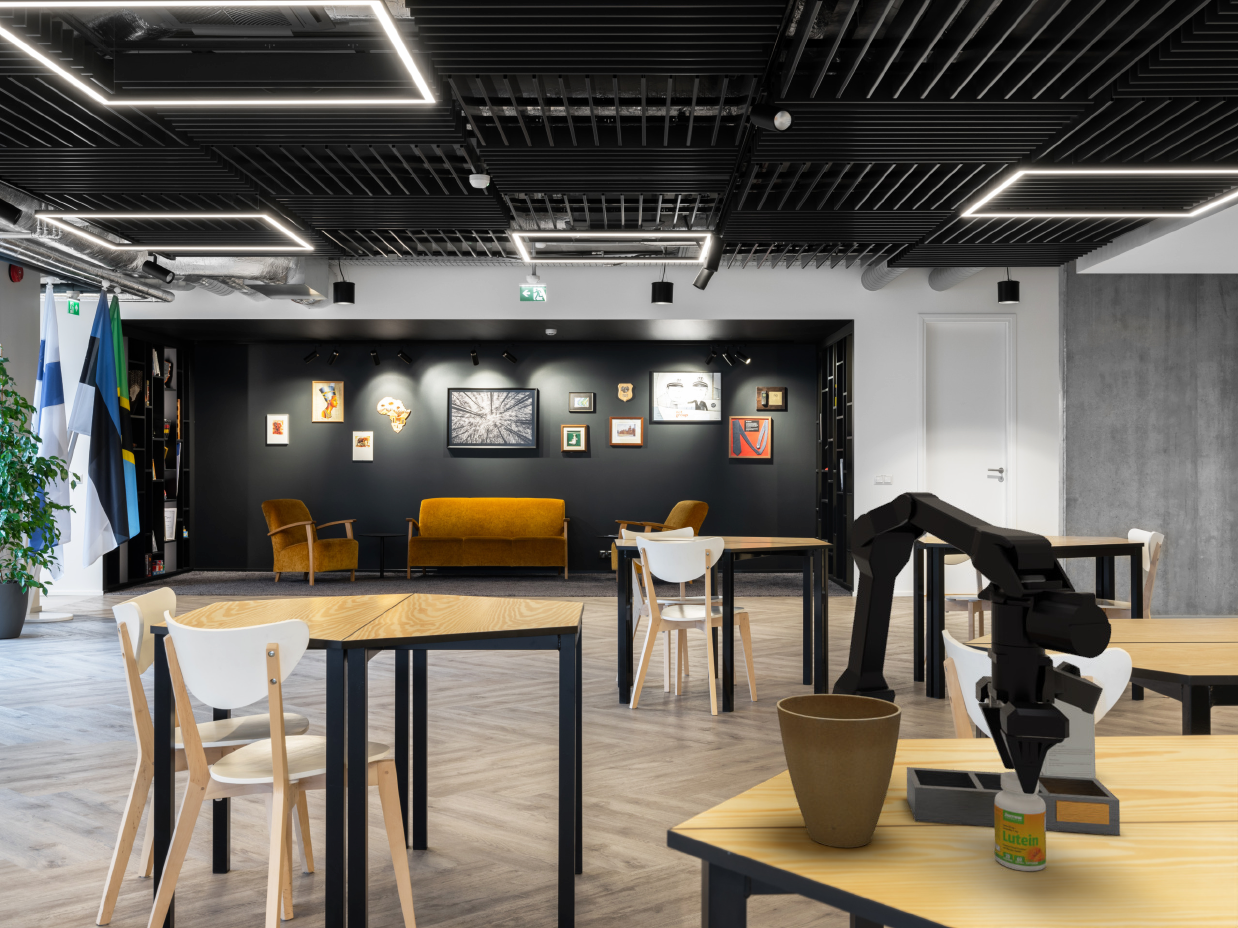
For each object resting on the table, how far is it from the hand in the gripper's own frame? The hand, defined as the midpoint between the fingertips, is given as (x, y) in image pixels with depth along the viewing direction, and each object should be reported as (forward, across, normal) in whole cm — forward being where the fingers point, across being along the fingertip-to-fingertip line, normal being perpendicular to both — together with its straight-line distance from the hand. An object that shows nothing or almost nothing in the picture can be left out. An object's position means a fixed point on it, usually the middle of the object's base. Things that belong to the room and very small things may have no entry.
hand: (1018, 780), depth 105 cm
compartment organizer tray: (+9, +16, -2) cm, 19 cm away
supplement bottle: (+9, 0, 0) cm, 9 cm away
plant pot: (+10, +4, +20) cm, 22 cm away
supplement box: (+10, +37, -14) cm, 41 cm away
